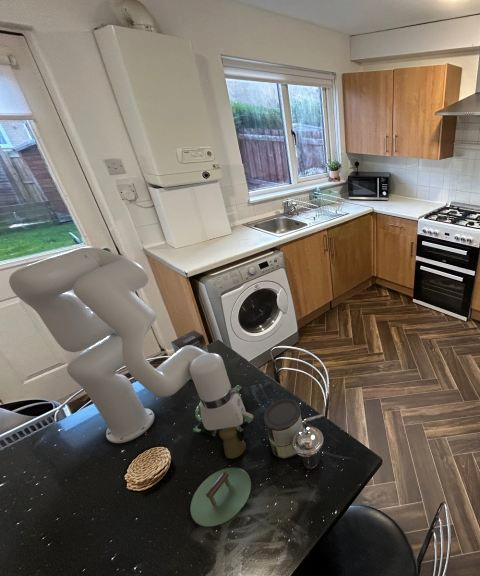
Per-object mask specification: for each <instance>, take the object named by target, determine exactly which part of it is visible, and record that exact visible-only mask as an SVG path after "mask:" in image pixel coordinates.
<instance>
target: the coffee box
mask: <svg viewBox="0 0 480 576" xmlns="http://www.w3.org/2000/svg"><path fill="white" fill-rule="evenodd" d="M170 344H171V346H172V349H173V351H174V353H176V352H177V351H178V350H179V349H181V348H182V347H184V346H187V345H191V346H195V347H197V348H199V349H201V350H203V351H205V352H207V353H210V352H209V349H208V345H207V343H206V340H205V336H204V335H203V333H201V332H198V331H197V330H194V329H193V330H192V331H190V332H188V333H186V334H184V335H182V336H179V337H178V338H176V339H174V340H172V341H171V342H170ZM190 380H191V381H193V379H192V378H191V379H190Z"/></svg>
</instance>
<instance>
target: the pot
mask: <svg viewBox="0 0 480 576" xmlns="http://www.w3.org/2000/svg"><path fill="white" fill-rule="evenodd" d="M233 388H234V389H237V390H238V393H237V394H238V395H239V397H240V398H241V400H242V403H243V405H244V404H245V403H244V401H243V398H242V394H240V393H241V392H242V390H244V387H243V386H241V385H238V384H237V385H236V386H234V387H233ZM244 406H245V405H244ZM194 414H195V415H194V416H195V419H196V422H197V423H198V424H199V422H200V421H201V420H202V418H201V412H200V402H199V403H198V405H197V406H196V408H195V412H194ZM198 424H196V426H195V427H194V428H193V429H192V431H193V432H194V433H195V434H198V435H201V434H202V433H203V434H205V435H208V436H211V437H213V436H212V435H211V433H208V432H205V430H201V429H197V426H198Z"/></svg>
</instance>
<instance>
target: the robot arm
mask: <svg viewBox="0 0 480 576" xmlns="http://www.w3.org/2000/svg"><path fill="white" fill-rule="evenodd" d="M8 283H9V286H10V289H11V291H12V292H13V293H14V294H15V295H16V297H17V298H18V299H20V300H21V301H22V302H23V303H24V304H26V305H28V306H29V307H30V308H31V309H32V310H34V311H35V312H36V313H37V314H38V316H39V317H40V320H41V321H42V322H43V324H44V325H45V327H46V328H47V329H48V332H49V333H50V334H51V336H52V337H53V338H54V340H55V341H56V343H57V344H58V345H59V347H60V348H61V349H63V350H64V351H66V352H69V353H77V352H79V353H78V354H76V355H75V356H74V357H73V358H72V359H71V360H70V361H69V363H68V364H67V366H66V371H67V372H66V373H68V376H69V377H71V378H72V380H73V381H74V382H76V383H77V384H78V385H79V386H80V387H81V389H83V391H84V392H85V393H86V395H87V397H88V398H89V399H90V400H91V402H92V404H93V405H94V407H95V408H96V410H97V412H98V413H99V415H100V416H101V418H102V419H103V421H104V423H105V424H106V426H107V429H106V431H105V437H106V439H107V441H108V442H110V443H112V444H123V443H127V442H131V441H132V440H135V439H137V438H138V437H140V436H142V435H143V434H144V433H146V432H147V431H148V429H150V428H151V426H152V425H153V423H154V421H155V413H154V412H153V410H152V409H151V408H148V407H144V405H143V403H142V401H141V399H140V398H139V395H138V394H137V391H136V390H135V388H134V386H133V384H132V382H131V381H130V379H129V378H128V377H127V376H126V375H123V374H120V373H117V371H119V370H120V369H121V368H122V367H124V366H125V367H126V370H127V372H128V373H129V374H130V376H131V377H132V378H133V379H134V380H135V381H137V382H138V383H139V385H141V386H142V387H144V389H145V390H147V391H149V392H150V393H151V394H153V395H155V396H157V397H160V398H169V397H172V396H173V395H175V394H176V393H177V392H179V391H180V389H182V388H183V387H184V386H185V385H186V384H187V383H188V382H189V381H190V380H191V378H192V379H193V380H192V381H193V384H194V387H195V389H196V392H197V395H198V397H199V399H200V402H199V403H200V412H201V418H202V420H201V421H200V422H199V424H197V425H198V426H197V425H196V426H197V429H201V430H205V432H208V433H211V435H212V436H211V437H214V440H215V441H216V442H217V445H218V446H220V445H221V444H222V443H223V439H222V438H221V437H220V435H219V430H220V429H223V428H229V427H236V428H237V429H238V432H237V434H238V437H239V440H240V441H243V440H244V437H245V436H246V434H247V433H246V432H247V431H246V427H247V426H248V425H249V424H250V423H252V421H254V416H255V415H254V414H252V413H250V412H248V411H246V407H245V405H243V404H244V402H243V403H242V400H243V399H242V400H241V398H240V397H239V395H238V394H237V393H238V390H237V389H234V388H235V387H233V386H232V384H231V382H230V380H229V375H228V373H227V369H226V366H225V363H224V360H223V358H222V356H221V355H220V354H218V353H215V352H209V353H207V352H205V351H203V350H201V349H199V348H197V347H195V346H191V345H187V346H184V347H182V348H181V349H179V350H178V351H177V352H176V353H175V352H174V353H173V354H172V355H171V356H169V357H168V358H167V359H165V360H164V361H163V362H161V364H160V365H158V366H157V367H154V366H153V365H152V364H151V362H149V361H148V359H147V357H146V355H145V352H144V351H145V350H144V344H145V340H146V336H147V334H148V332H149V331H150V329H151V328H152V326H153V325H154V323H155V321H156V319H157V314H156V312H155V311H154V310H153V309H151V308H150V306H149V305H147V304H146V303H145V302H144V301H143V300H142V298H140V297H139V296H138V295H137V294H136V293H135V292H137V291H139V290H141V289H142V288H144V287H146V286H147V285H148V284H149V274H148V273H147V271H146V270H145V268H143V266H141V265H140V264H139V263H138V262H136V261H135V260H133V259H131V258H128V257H126V256H124V255H121V254H118V253H114V252H111V251H109V250H106V249H103V248H100V247H95V246H82V247H79V248H74V249H72V250H69V251H66V252H63V253H60V254H58V255H54V256H50V257H47V258H44V259H42V260H39V261H36V262H33V263H30V264H28V265H27V264H26V265H25V266H23V267H20V268H18V269H17V270H15V271H14V272H13V273H11V275H10V276H9V281H8Z"/></svg>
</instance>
